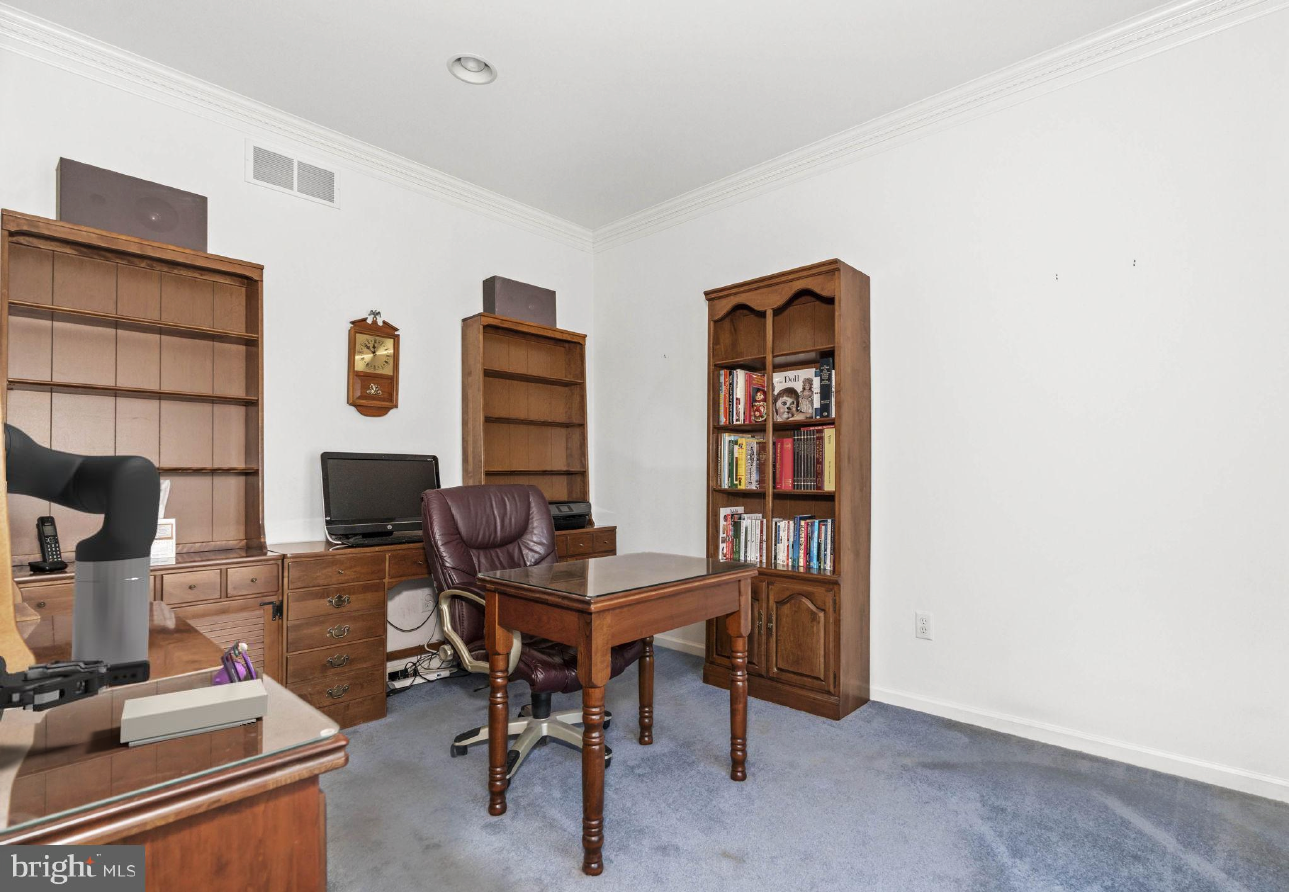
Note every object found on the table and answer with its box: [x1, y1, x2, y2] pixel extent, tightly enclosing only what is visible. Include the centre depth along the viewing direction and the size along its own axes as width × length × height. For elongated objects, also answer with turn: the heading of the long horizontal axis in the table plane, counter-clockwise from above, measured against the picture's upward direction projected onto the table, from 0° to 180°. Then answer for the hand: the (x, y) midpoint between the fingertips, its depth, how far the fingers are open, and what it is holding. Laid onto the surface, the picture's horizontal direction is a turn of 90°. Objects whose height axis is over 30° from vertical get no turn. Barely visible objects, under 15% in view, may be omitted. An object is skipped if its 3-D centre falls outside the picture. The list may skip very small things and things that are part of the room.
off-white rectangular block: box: [120, 678, 268, 744], centre depth 79 cm, size 8×3×14 cm
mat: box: [128, 718, 257, 748], centre depth 79 cm, size 9×12×1 cm
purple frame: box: [212, 640, 257, 686], centre depth 89 cm, size 7×5×9 cm
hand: (149, 670), depth 77 cm, fingers closed
